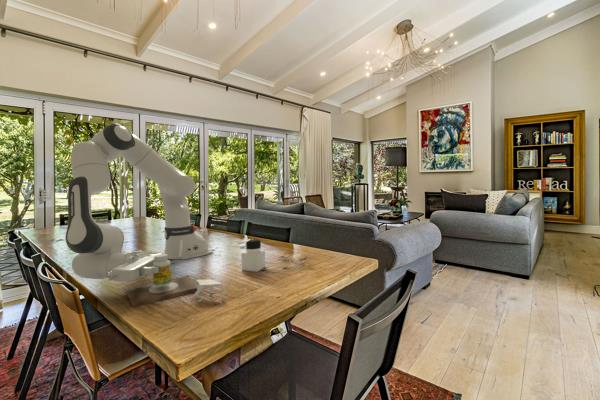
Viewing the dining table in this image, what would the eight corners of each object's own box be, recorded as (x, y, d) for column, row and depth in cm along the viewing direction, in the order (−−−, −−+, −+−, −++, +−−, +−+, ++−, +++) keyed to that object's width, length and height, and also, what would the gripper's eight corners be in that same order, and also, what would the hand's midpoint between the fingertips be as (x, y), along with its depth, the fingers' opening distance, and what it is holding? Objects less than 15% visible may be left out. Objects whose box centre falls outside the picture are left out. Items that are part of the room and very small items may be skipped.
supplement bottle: (172, 280, 104) (171, 252, 103) (169, 285, 99) (168, 256, 98) (155, 281, 103) (154, 253, 102) (151, 287, 98) (150, 257, 97)
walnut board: (188, 279, 113) (188, 275, 113) (201, 290, 101) (200, 286, 101) (126, 292, 101) (126, 288, 101) (133, 306, 90) (133, 302, 89)
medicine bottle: (265, 266, 127) (264, 238, 126) (257, 272, 120) (256, 242, 119) (250, 265, 129) (249, 237, 128) (241, 270, 122) (240, 240, 121)
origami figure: (184, 302, 92) (184, 286, 92) (198, 292, 100) (197, 277, 100) (222, 304, 90) (221, 288, 90) (232, 293, 99) (232, 278, 98)
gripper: (101, 265, 91) (145, 266, 90) (141, 249, 111) (178, 249, 110) (102, 286, 91) (146, 287, 90) (142, 266, 111) (179, 266, 110)
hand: (164, 266), depth 100 cm, fingers closed on supplement bottle, 5 cm apart
